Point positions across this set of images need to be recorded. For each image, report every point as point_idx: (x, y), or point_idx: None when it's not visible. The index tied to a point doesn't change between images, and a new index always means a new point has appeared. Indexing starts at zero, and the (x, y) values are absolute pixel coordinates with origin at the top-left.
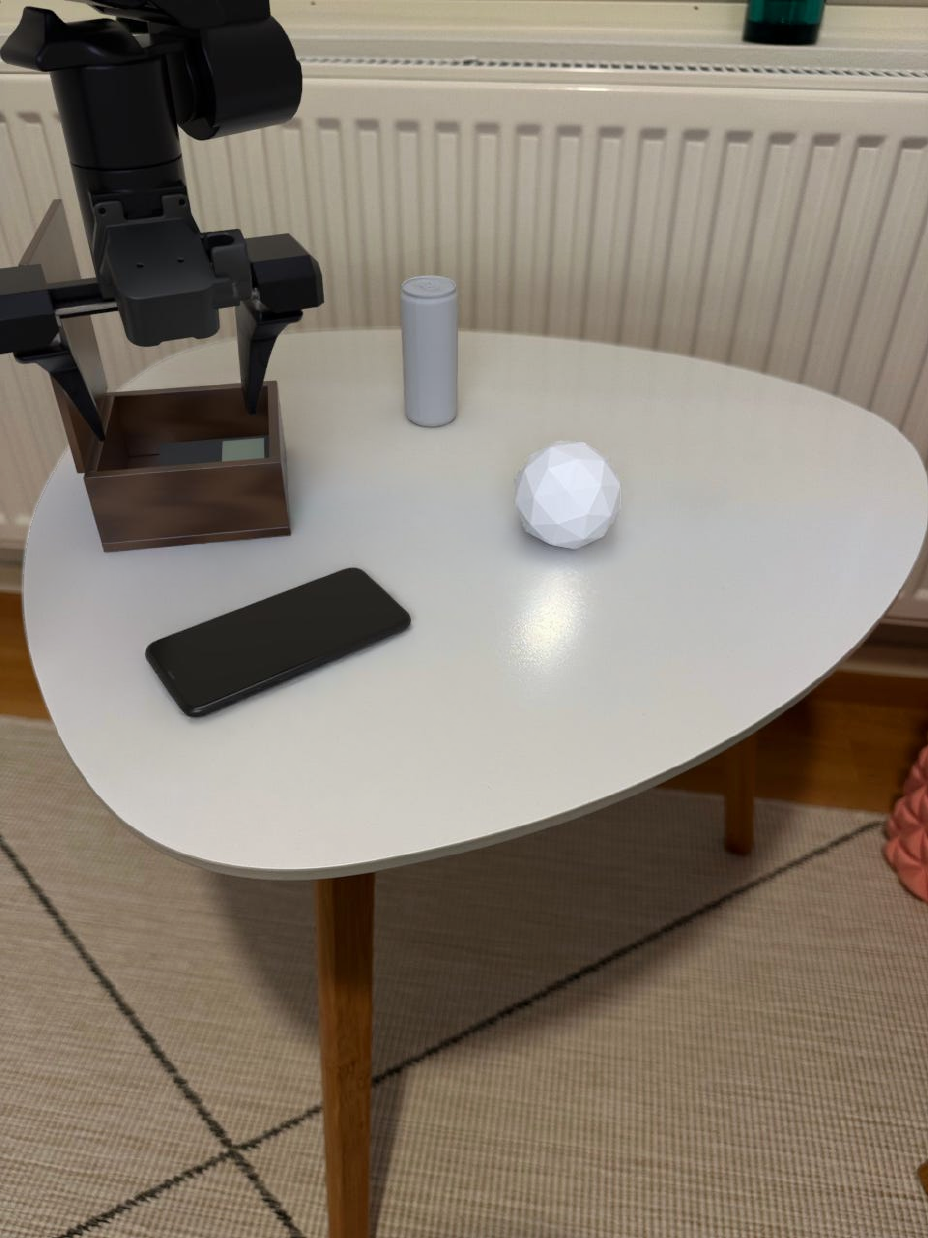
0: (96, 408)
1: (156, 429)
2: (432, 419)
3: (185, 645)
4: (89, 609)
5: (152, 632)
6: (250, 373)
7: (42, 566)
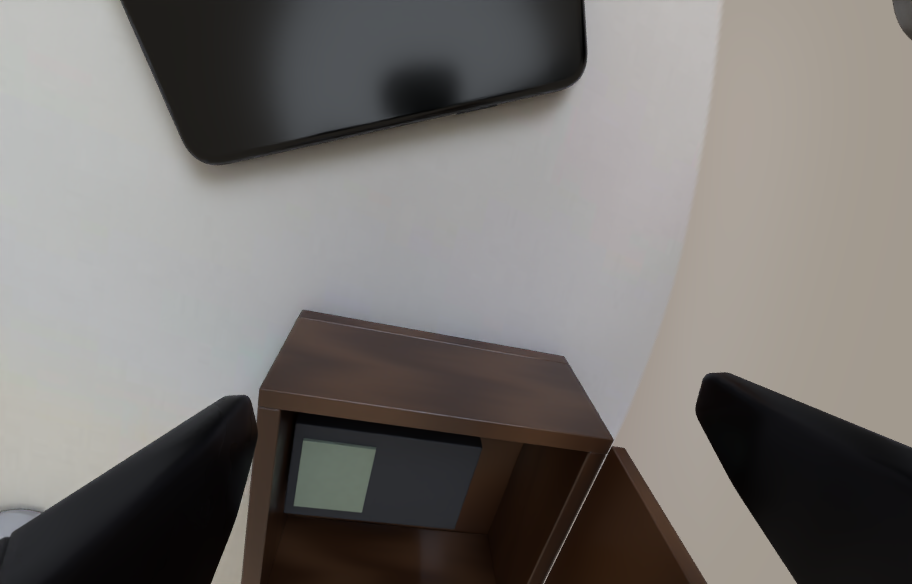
0: (790, 459)
1: (449, 566)
2: (16, 519)
3: (525, 47)
4: (615, 237)
5: (551, 145)
6: (116, 516)
7: (641, 353)
